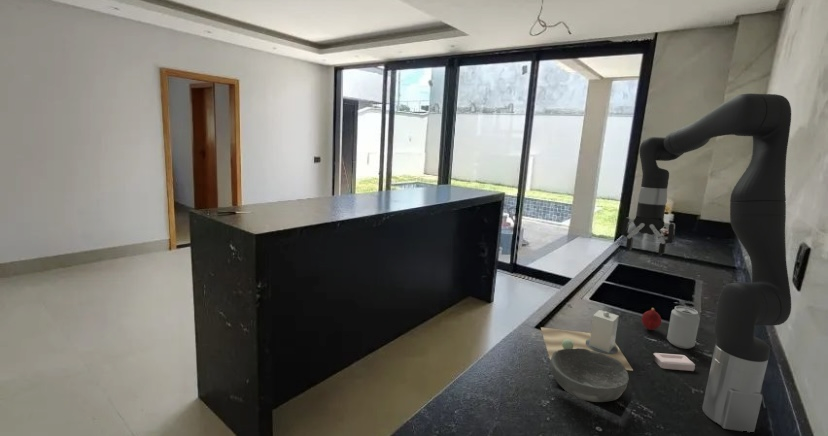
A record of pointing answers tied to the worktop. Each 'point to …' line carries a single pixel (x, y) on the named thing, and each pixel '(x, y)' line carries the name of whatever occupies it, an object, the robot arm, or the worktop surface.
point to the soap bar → (674, 361)
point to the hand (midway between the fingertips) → (644, 252)
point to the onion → (651, 319)
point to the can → (683, 327)
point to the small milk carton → (603, 330)
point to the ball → (567, 344)
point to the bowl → (589, 374)
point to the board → (578, 344)
